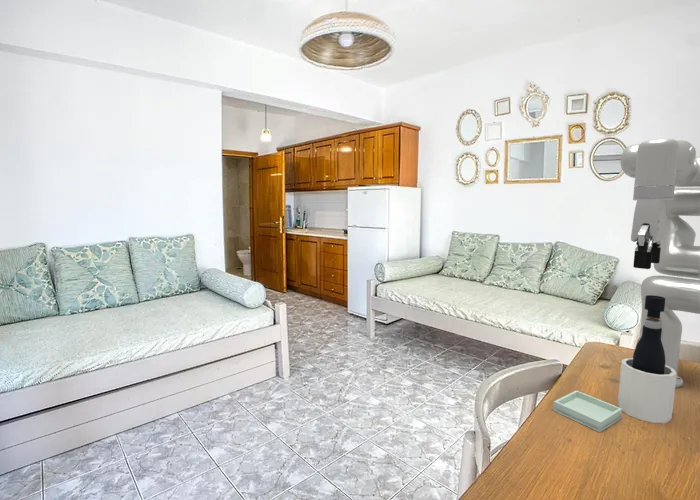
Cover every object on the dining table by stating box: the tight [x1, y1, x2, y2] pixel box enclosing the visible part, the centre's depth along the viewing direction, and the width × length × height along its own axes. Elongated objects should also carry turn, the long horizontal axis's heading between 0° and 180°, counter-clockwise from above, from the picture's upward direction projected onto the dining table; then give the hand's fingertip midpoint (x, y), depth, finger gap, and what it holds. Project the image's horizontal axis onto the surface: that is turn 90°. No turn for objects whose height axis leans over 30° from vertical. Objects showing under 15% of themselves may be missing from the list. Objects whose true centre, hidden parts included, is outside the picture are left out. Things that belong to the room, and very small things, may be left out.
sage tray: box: [552, 390, 623, 433], centre depth 95 cm, size 11×11×2 cm
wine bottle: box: [632, 295, 666, 375], centre depth 95 cm, size 6×6×30 cm
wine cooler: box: [617, 357, 678, 424], centre depth 96 cm, size 11×11×12 cm
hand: (646, 265), depth 91 cm, fingers open, 9 cm apart
